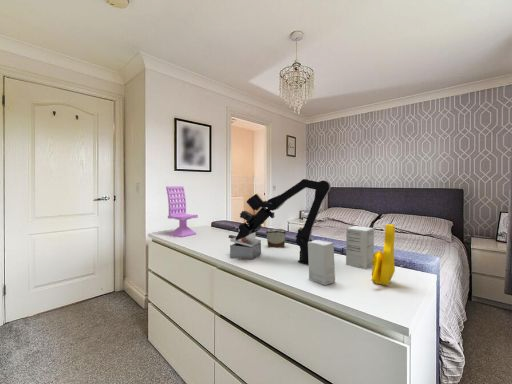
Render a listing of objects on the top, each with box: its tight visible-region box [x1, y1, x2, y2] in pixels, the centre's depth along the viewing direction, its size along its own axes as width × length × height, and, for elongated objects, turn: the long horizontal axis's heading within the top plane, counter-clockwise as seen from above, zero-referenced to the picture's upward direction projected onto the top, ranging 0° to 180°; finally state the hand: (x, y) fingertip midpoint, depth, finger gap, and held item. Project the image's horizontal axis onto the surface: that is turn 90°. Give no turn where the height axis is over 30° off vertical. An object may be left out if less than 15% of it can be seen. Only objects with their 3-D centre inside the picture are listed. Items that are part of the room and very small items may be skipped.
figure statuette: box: [371, 223, 396, 287], centre depth 93 cm, size 18×8×22 cm, turn 145°
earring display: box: [165, 185, 199, 238], centre depth 183 cm, size 15×17×35 cm
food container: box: [265, 228, 288, 249], centre depth 149 cm, size 12×6×10 cm, turn 84°
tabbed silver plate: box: [228, 234, 262, 247], centre depth 130 cm, size 15×12×2 cm
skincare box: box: [308, 239, 336, 286], centre depth 96 cm, size 8×6×15 cm
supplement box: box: [345, 225, 375, 270], centre depth 115 cm, size 10×9×17 cm
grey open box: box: [229, 242, 262, 261], centre depth 129 cm, size 12×12×6 cm
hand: (240, 237), depth 130 cm, fingers open, 9 cm apart
